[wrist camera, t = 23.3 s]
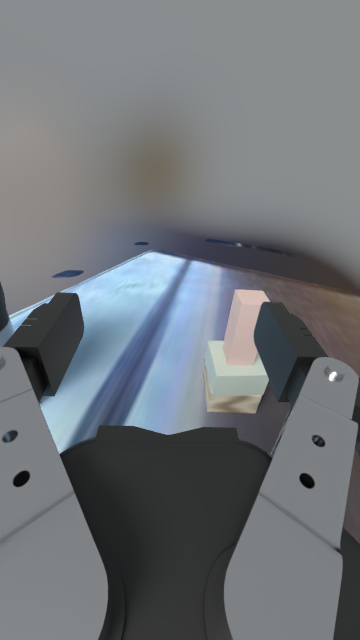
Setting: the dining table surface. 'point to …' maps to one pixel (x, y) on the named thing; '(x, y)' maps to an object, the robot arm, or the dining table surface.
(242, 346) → the pillar block
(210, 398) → the tower base
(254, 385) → the tower top
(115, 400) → the dining table surface
